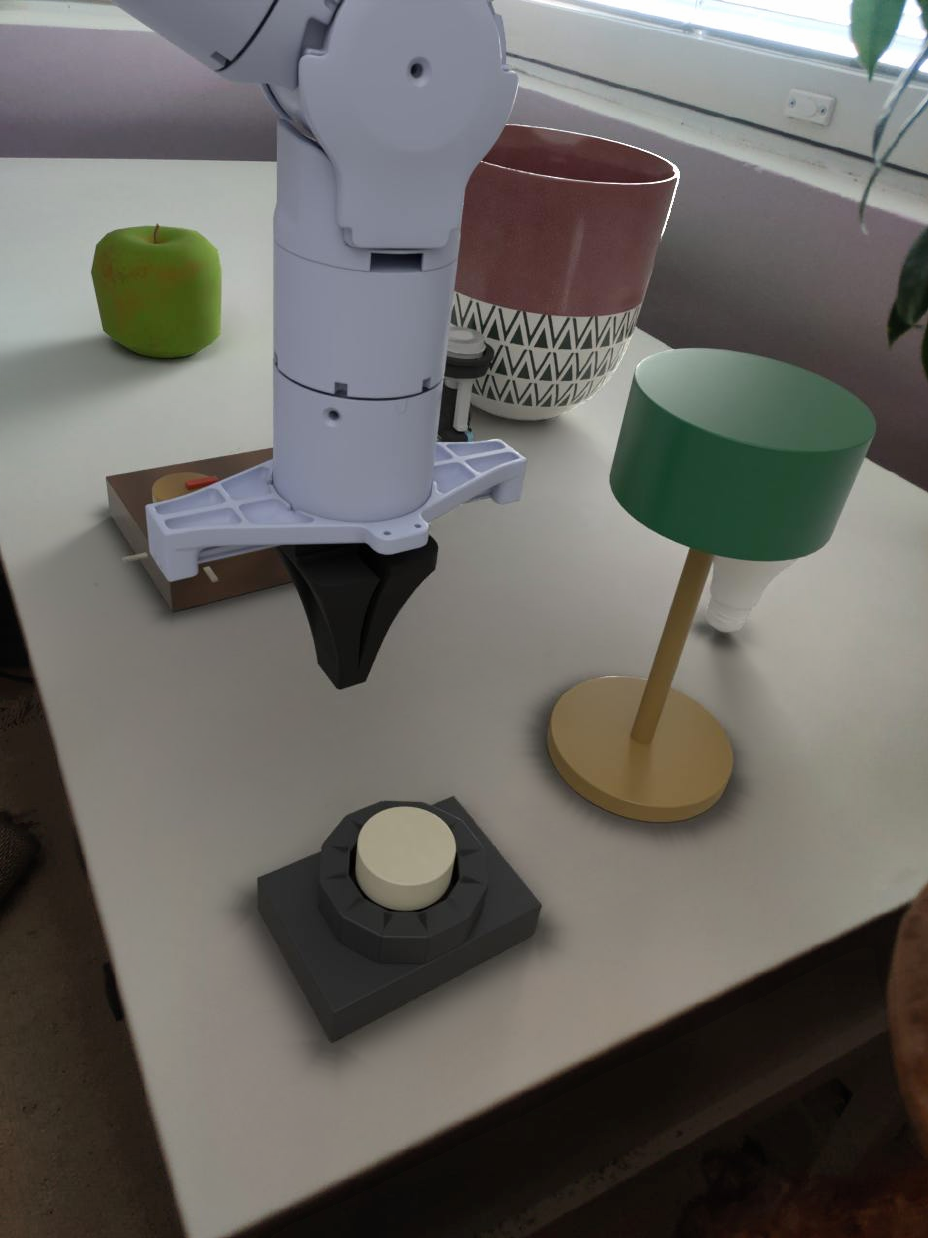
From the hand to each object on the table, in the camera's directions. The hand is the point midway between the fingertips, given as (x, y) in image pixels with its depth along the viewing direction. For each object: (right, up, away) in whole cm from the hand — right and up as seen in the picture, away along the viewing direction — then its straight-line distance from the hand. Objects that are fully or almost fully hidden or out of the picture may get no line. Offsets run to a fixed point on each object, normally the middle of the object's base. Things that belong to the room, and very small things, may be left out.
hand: (342, 671), depth 40 cm
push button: (+3, +16, +38) cm, 41 cm away
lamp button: (+3, -8, -1) cm, 9 cm away
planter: (+10, +22, +46) cm, 52 cm away
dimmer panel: (-10, +7, +23) cm, 26 cm away
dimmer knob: (-11, +7, +17) cm, 22 cm away
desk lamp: (+15, -5, +12) cm, 20 cm away
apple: (-23, +28, +48) cm, 60 cm away
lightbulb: (+22, +1, +22) cm, 31 cm away
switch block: (+2, -11, +2) cm, 11 cm away
